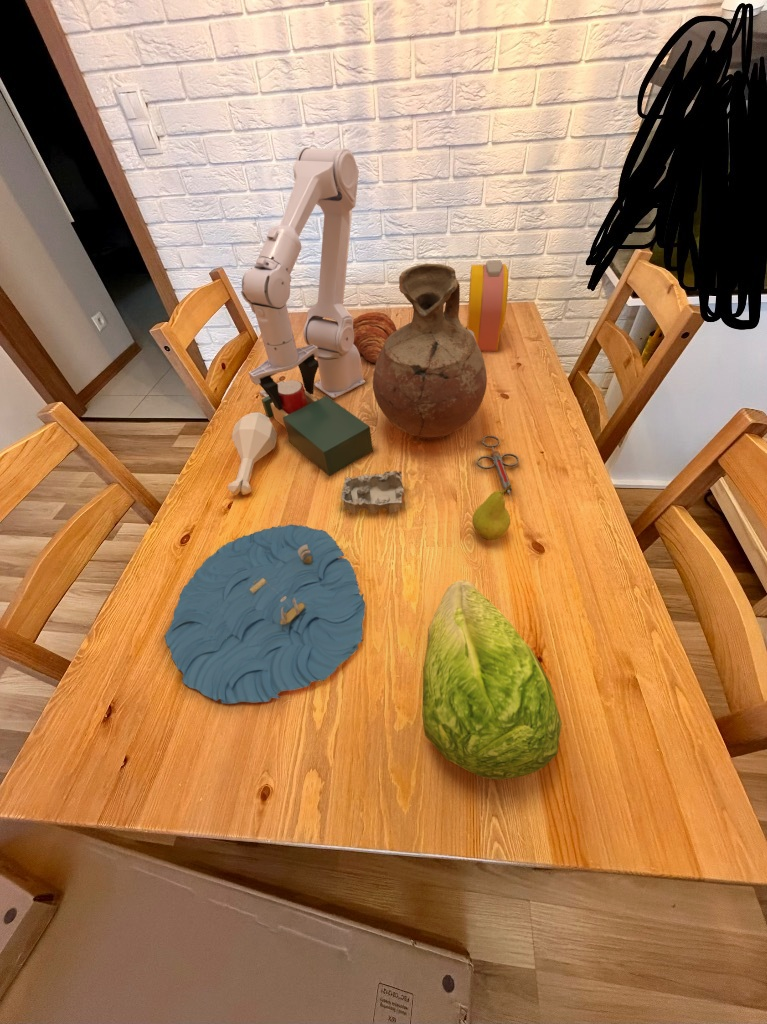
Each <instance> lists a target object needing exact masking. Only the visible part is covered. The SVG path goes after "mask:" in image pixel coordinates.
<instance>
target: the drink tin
mask: <svg viewBox="0 0 767 1024" xmlns="http://www.w3.org/2000/svg"><path fill="white" fill-rule="evenodd" d="M304 390H305V388H304V384H303V382H301V381H299V380H294V379H292V380H286V381H284V382H283V383H281V384H280V385H279V386H278V393H279V398H280V401H281V404H282V410H284V411H285V412H286V413H287V414H291V413H293V412H295V411H297V410H299V409H301V408H303V407H305V406H307V405H308V403H307V399H306V395H305V391H306V390H305V391H304Z"/></svg>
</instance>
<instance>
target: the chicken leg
mask: <svg viewBox="0 0 767 1024" xmlns="http://www.w3.org/2000/svg"><path fill="white" fill-rule="evenodd" d="M231 439H232V442H233V444H234V446H235V449H236V451H237V453H238V455H239V457H240V464H239V467H238V472H237V474H236V478H235V480H233V481H231V482H230V483H228V484H227V490H228V491H229V492H230V494H232V495H234V496H237V495H238V494H239V493H240V492H241V495H248V494H250V493H251V492H252V486H251V485H250V480H251V477H252V472H253V469H254V465H255V463H257V462H258V461H259V460H260V459H262V458H263V457H265V456H266V455H268V453H270V452H271V451H273V449H275V448H276V443H277V439H278V434H277V432H276V429H275V427H274V424H273V423H272V421H271V419H270V418H268V417H267V416H266V414H264V413H262V412H259V411H258V412H257V411H255V412H250V413H248V414H245V415H244V416H242V417H241V418H240V419H239V420H238V421H237V422H236V423H235V424H234V426H233V430H232V433H231Z"/></svg>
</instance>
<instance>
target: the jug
mask: <svg viewBox="0 0 767 1024" xmlns="http://www.w3.org/2000/svg"><path fill="white" fill-rule="evenodd" d="M398 283H399V285H398V289H399V292H400V293H401V294H403V295H404V297H405V299H406V300H407V301H408V302H409V303H410V304H411V306H412V309H413V312H412V318H411V319H412V320H411V322H408V323H406V324H405V325H402V327H399V328H398V329H396V331H395V332H393V333H392V334H391V335H390V336H389V337H388V338H387V339H386V341H385V344H384V346H383V348H382V349H381V352H380V354H379V356H378V359H377V361H376V363H375V366H374V370H373V375H372V391H373V396H374V398H375V400H376V403H377V406H378V408H379V409H380V411H381V412H382V413H383V415H384V416H385V417H386V419H387V420H388V421H389V422H390V423H391V424H392V425H394V426H395V427H396V428H398V429H399V430H401V431H402V432H405V433H406V434H408V435H412V436H414V437H416V438H421V439H423V440H437V439H440V438H443V437H445V436H447V435H450V434H452V433H455V432H457V431H459V430H460V429H462V428H463V427H465V426H466V425H467V424H468V423H469V422H470V421H471V420H472V419H473V417H474V416H475V415H476V414H477V412H478V410H479V409H480V407H481V405H482V403H483V400H484V398H485V395H486V390H487V385H488V382H487V381H488V377H487V367H486V363H485V359H484V355H483V353H482V351H480V348H479V346H478V344H477V342H476V341H475V339H474V337H473V335H472V334H471V333H470V332H469V331H468V330H467V327H465V326H463V324H462V323H461V320H460V317H459V314H460V302H461V301H460V299H461V291H460V290H461V285H460V283H459V280H458V279H457V276H456V270H455V268H454V267H451V266H449V265H446V264H442V263H421V264H416V265H413V266H410V267H409V268H407V269H405V270H404V271H402V272H401V274H400V275H399V277H398Z"/></svg>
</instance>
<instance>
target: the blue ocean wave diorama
mask: <svg viewBox="0 0 767 1024" xmlns="http://www.w3.org/2000/svg"><path fill="white" fill-rule="evenodd" d="M344 556H345V553H344V552H343V550H342V549H341V548H340V546H339V545H338V544H337V541H336V540H335V539H334V538H333V537H332V536H331V535H330V533H328V532H327V531H326V530H324V529H316V528H311V527H309V526H307V525H305V526H304V525H301V524H299V525H297V524H286V525H283V526H282V525H278V526H272V527H270V528H263V529H262V530H258V531H254V532H253V533H250V534H248V535H242V536H241V537H237V538H236V539H234V540H232V541H229V542H227V543H226V544H223V545H222V546H221V547H219V548H218V549H217V550H216V552H214V553H213V554H212V555H210V556H208V557H207V558H206V559H205V560H204V561H203V562H202V564H201V566H199V567H198V569H196V570H195V572H194V574H193V576H192V577H191V578H190V579H189V580H188V582H187V583H186V585H184V587H182V589H181V592H180V594H179V599H178V602H177V605H176V607H175V608H174V610H173V617H172V620H171V624H170V625H169V628H168V629H167V631H166V633H165V634H164V641H165V644H166V646H167V647H168V649H169V650H170V654H171V655H170V656H171V659H172V661H173V662H174V664H175V666H176V669H177V671H180V672H181V673H182V682H181V683H182V684H184V685H185V686H187V687H188V688H190V689H193V690H197V691H198V692H199V693H201V695H203V696H205V697H207V698H210V699H212V700H213V701H215V702H216V701H218V700H219V701H220V702H221V704H238V703H242V702H243V703H251V704H253V703H255V704H256V703H267V702H270V701H271V699H280V698H281V696H279V695H278V694H280V693H281V692H285V691H296V690H298V689H304V688H306V687H310V686H311V683H312V682H319V681H321V682H324V681H325V680H327V679H328V678H329V677H330V676H331V675H332V674H334V673H335V671H336V670H337V668H338V667H339V666H340V665H341V664H343V663H344V662H345V661H347V660H348V659H350V657H351V656H352V655H353V654H354V653H355V652H357V650H358V649H359V644H361V643H362V642H363V641H364V638H363V634H364V628H363V623H364V619H365V615H366V610H365V609H366V601H365V600H364V593H362V594H360V593H361V590H360V588H359V587H360V586H359V584H358V583H359V582H358V580H357V575H356V572H355V570H354V567H353V566H352V564H351V562H350V561H349V560H348V558H343V557H344Z"/></svg>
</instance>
